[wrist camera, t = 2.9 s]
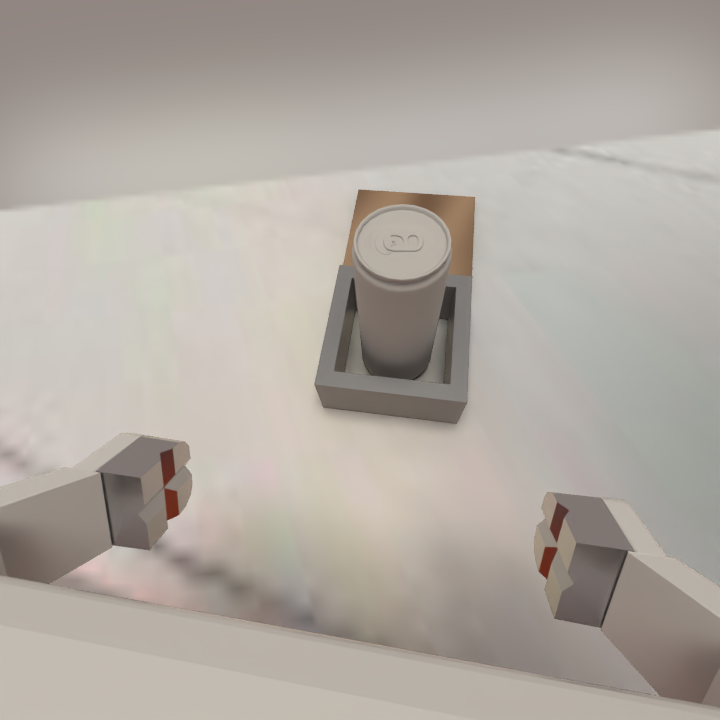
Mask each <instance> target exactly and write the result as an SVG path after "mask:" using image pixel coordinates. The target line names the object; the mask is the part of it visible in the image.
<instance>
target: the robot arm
mask: <svg viewBox="0 0 720 720" xmlns="http://www.w3.org/2000/svg"><path fill="white" fill-rule="evenodd" d="M189 460H190V451H189V445H188V444H187V443H186V442H184V441H178V440H172V439H165V438H159V437H153V436H145V435H140V434H132V433H121V434H119V435H118V436H116V437H115V438H114V439H112V440H111V441H109V442H108V443H107V444H105V445H104V446H102V447H101V448H99V449H98V450H97V451H95V452H94V453H92V454H91V455H90V456H88V457H87V458H85V459H84V460H83V461H81V462H80V463H78V464H77V465H75V466H74V467H73V468H66V467H65V468H61V469H58V470H55V471H52V472H48V473H45V474H42V475H38V476H35V477H32V478H28V479H25V480H22V481H19V482H15V483H12V484H9V485H5V486H2V487H0V720H720V587H719V586H718V585H716V584H714V583H713V582H711V581H710V580H708V579H707V578H705V577H704V576H702V575H701V574H699V573H698V572H696V571H694V570H693V569H691V568H690V567H688V566H687V565H685V564H684V563H682V562H681V561H679V560H678V559H676V558H670V557H667V556H666V555H665V553H664V552H663V551H662V549H661V548H660V546H659V545H658V544H657V542H656V541H655V540H654V538H653V537H652V535H651V534H650V533H649V531H648V530H647V528H646V527H645V526H644V524H643V523H642V522H641V520H640V519H639V517H638V516H637V515H636V513H635V512H634V510H633V509H632V508H631V506H630V505H629V504H628V503H627V502H625V501H624V500H619V499H609V498H599V497H597V498H596V497H588V496H579V495H570V494H562V493H553V492H547V494H546V495H545V497H544V500H543V504H542V510H543V513H544V516H545V519H544V520H543V521H542V522H540V523H539V524H538V525H537V528H536V533H535V538H534V554H535V560H536V564H537V567H538V571H539V572H540V573H541V574H542V575H543V576H544V577H545V578H546V579H547V582H546V586H545V592H546V595H547V598H548V601H549V604H550V607H551V610H552V613H553V616H554V619H558V620H564V621H569V622H574V623H579V624H584V625H589V626H594V627H599V628H601V631H602V632H603V633H604V634H605V635H606V636H607V637H608V639H609V640H610V641H611V642H612V643H613V644H614V645H615V646H616V647H617V648H618V650H619V651H620V652H621V653H622V654H623V655H624V656H625V657H626V658H627V659H628V661H629V662H630V663H631V664H632V665H633V666H634V667H635V668H636V669H637V671H638V672H639V673H640V674H641V675H642V676H643V677H644V678H645V679H646V680H647V682H648V683H649V684H650V685H651V686H652V687H653V688H654V689H655V690H656V691H657V693H658V694H659V695H660V696H656V695H651V694H645V693H640V692H635V691H629V690H623V689H618V688H612V687H607V686H601V685H595V684H590V683H584V682H579V681H573V680H568V679H562V678H557V677H551V676H546V675H541V674H535V673H530V672H524V671H519V670H514V669H508V668H503V667H498V666H492V665H487V664H481V663H476V662H471V661H465V660H460V659H454V658H449V657H444V656H438V655H433V654H428V653H422V652H417V651H411V650H406V649H401V648H395V647H390V646H384V645H379V644H374V643H368V642H363V641H357V640H352V639H346V638H341V637H335V636H330V635H324V634H319V633H313V632H308V631H302V630H297V629H291V628H286V627H281V626H275V625H270V624H264V623H259V622H253V621H248V620H242V619H237V618H231V617H226V616H220V615H215V614H209V613H204V612H198V611H193V610H187V609H182V608H177V607H171V606H166V605H160V604H155V603H149V602H144V601H139V600H133V599H128V598H122V597H117V596H111V595H106V594H101V593H95V592H90V591H84V590H79V589H73V588H68V587H63V586H57V585H52V584H50V583H52V582H53V581H55V580H57V579H59V578H60V577H62V576H64V575H65V574H67V573H69V572H71V571H72V570H74V569H76V568H77V567H79V566H81V565H83V564H84V563H86V562H88V561H89V560H91V559H93V558H95V557H96V556H98V555H100V554H101V553H103V552H105V551H107V550H108V549H110V548H112V545H115V546H122V547H130V548H137V549H144V550H151V548H152V547H153V546H154V545H155V544H156V542H157V541H158V540H159V539H160V538H161V536H162V535H163V534H164V533H165V531H166V530H167V529H168V524H167V520H169V519H172V518H174V517H176V516H178V515H179V514H180V513H181V512H182V511H183V509H184V508H185V507H186V505H187V502H188V500H189V498H190V495H191V490H192V474H191V473H190V472H189V470H188V469H187V468H186V466H185V465H186V463H187V462H188V461H189Z"/></svg>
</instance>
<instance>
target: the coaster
mask: <svg viewBox="0 0 720 720" xmlns="http://www.w3.org/2000/svg"><path fill="white" fill-rule="evenodd" d="M399 204H406V205H415V206H419V207H422V208H425V209H427V210H429V211H431V212H433V213H435V214H436V215H437V216H438V217H439V218H441V219H442V220H443V221H444V223H445V224H446V226H447V228H448V229H449V232H450V236H451V240H452V242H451V247H452V258H451V265H450V269H449V274H451V275H463V276H472V257H473V233H474V209H475V197H466V196H450V195H434V194H419V193H403V192H388V191H372V190H359V191H358V196H357V201H356V205H355V210H354V215H353V220H352V225H351V230H350V235H349V240H348V244H347V249H346V254H345V259H344V264H343V265H345V266H353V261H352V247H353V240H354V236H355V232H356V229H357V228H358V226H359V224H360V223H361V221H362V220H364V219H365V218H366V217H367V216H368V215H369V214H371V213H372V212H374V211H376V210H378V209H380V208H383V207H387V206H390V205H399Z"/></svg>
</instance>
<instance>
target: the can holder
mask: <svg viewBox="0 0 720 720" xmlns="http://www.w3.org/2000/svg"><path fill="white" fill-rule="evenodd" d="M471 293H472V276H463V275H451V274H448V279H447V283H446V288H445V292H444V297H443V302H442V306H441V311H440V316H439V318H441V319H448V328H447V343H446V358H445V373H444V384H442V383H433V382H424V381H415V380H406V379H398V378H389V377H380V376H371V375H362V374H354V373H345V372H344V371H345V365H346V360H347V354H348V348H349V343H350V337H351V332H352V326H353V321H354V315H355V310H358V308H357V299H356V289H355V280H354V271H353V266H345V265H340V266H339V270H338V275H337V280H336V285H335V289H334V294H333V299H332V304H331V308H330V313H329V318H328V323H327V327H326V332H325V337H324V342H323V346H322V351H321V356H320V361H319V365H318V370H317V375H316V380H315V387H316V390H317V392H318V395H319V397H320V400H321V402H322V405H323V407H327V408H335V409H343V410H351V411H359V412H367V413H375V414H383V415H391V416H399V417H407V418H415V419H424V420H432V421H440V422H448V423H456V424H457V422H458V420H459V418H460V416H461V414H462V412H463V410H464V408H465V406H466V404H467V392H468V367H469V342H470V317H471Z"/></svg>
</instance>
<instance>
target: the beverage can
mask: <svg viewBox="0 0 720 720" xmlns="http://www.w3.org/2000/svg"><path fill="white" fill-rule="evenodd" d="M451 242H452V240H451V236H450V232H449V229H448V228H447V226H446V224H445V223H444V221H443V220H442V219H441V218H439V217H438V216H437V215H436V214H435V213H433V212H431V211H429V210H427V209H425V208H422V207H419V206H415V205H406V204H399V205H390V206H387V207H383V208H380V209H378V210H376V211H374V212H372V213H371V214H369V215H368V216H367V217H366V218H365V219H364V220H362V221H361V223H360V224H359V226H358V228H357V229H356V232H355V236H354V240H353V247H352V261H353V271H354V280H355V289H356V299H357V308H358V318H359V327H360V336H361V346H362V355H363V361H364V363H365V366H366V367H367V369H368V370H369V371H370V373H371V374H372V375H374V376H380V377H389V378H398V379H406V380H411V379H414V378H415V377H417V376H418V375H420V374H421V373H422V372H423V371H424V370H425V369H426V368H427V366H428V363H429V361H430V357H431V353H432V348H433V343H434V339H435V334H436V329H437V325H438V320H439V316H440V311H441V306H442V302H443V297H444V292H445V288H446V283H447V279H448V274H449V269H450V265H451V258H452V247H451Z"/></svg>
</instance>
